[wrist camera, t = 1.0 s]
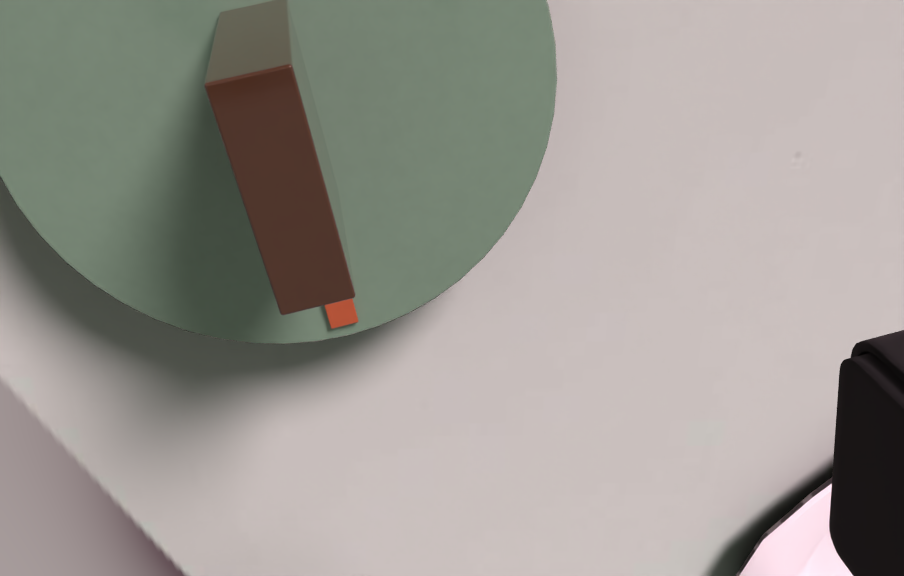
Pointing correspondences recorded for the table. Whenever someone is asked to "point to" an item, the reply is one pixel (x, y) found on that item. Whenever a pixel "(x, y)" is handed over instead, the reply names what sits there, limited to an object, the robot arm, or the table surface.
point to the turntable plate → (176, 180)
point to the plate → (798, 542)
